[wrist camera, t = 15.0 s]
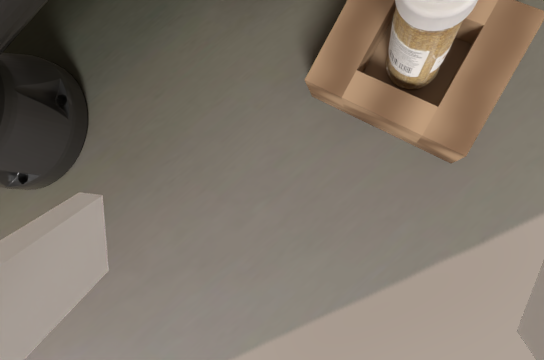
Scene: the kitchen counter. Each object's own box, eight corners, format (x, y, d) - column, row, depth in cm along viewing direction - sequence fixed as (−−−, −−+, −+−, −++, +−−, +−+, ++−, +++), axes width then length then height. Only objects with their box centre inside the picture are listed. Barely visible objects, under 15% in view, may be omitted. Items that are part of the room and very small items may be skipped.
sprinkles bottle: (448, 75, 33) (505, -12, 20) (397, 99, 33) (419, 31, 20) (424, 30, 33) (464, -83, 20) (375, 54, 34) (383, -39, 21)
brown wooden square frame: (312, 96, 37) (304, 79, 32) (373, -16, 36) (374, -51, 31) (451, 163, 33) (466, 156, 29) (520, 40, 33) (548, 12, 28)
